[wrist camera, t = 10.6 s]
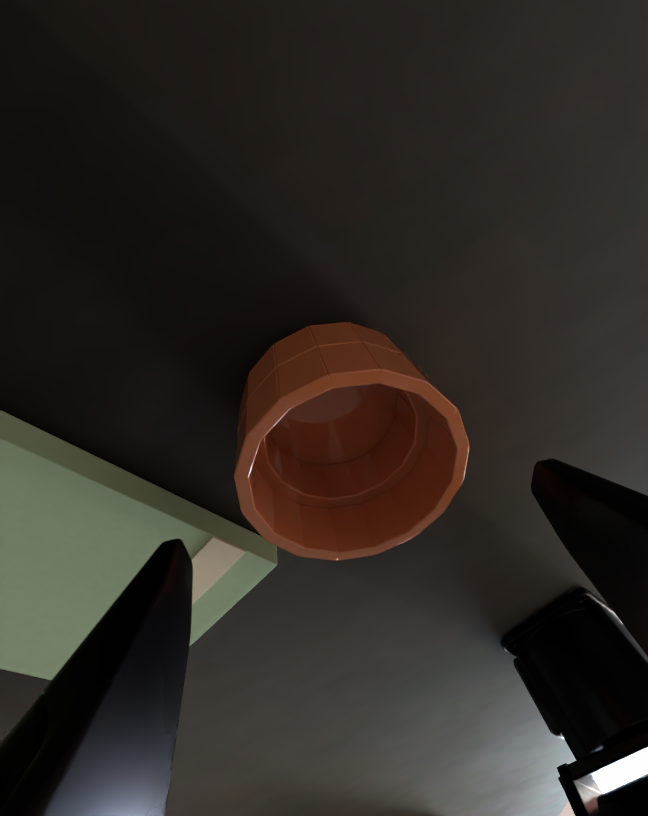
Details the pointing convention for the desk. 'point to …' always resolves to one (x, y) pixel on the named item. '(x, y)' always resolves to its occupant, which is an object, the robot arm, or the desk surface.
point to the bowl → (344, 444)
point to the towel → (97, 547)
